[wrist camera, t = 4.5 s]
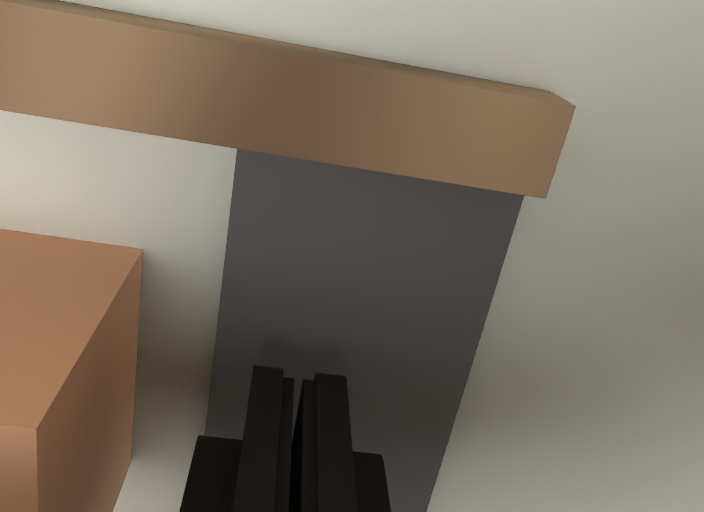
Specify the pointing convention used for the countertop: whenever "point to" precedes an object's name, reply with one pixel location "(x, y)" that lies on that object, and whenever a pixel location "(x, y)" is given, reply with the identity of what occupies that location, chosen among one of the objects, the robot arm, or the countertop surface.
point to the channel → (319, 204)
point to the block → (66, 371)
